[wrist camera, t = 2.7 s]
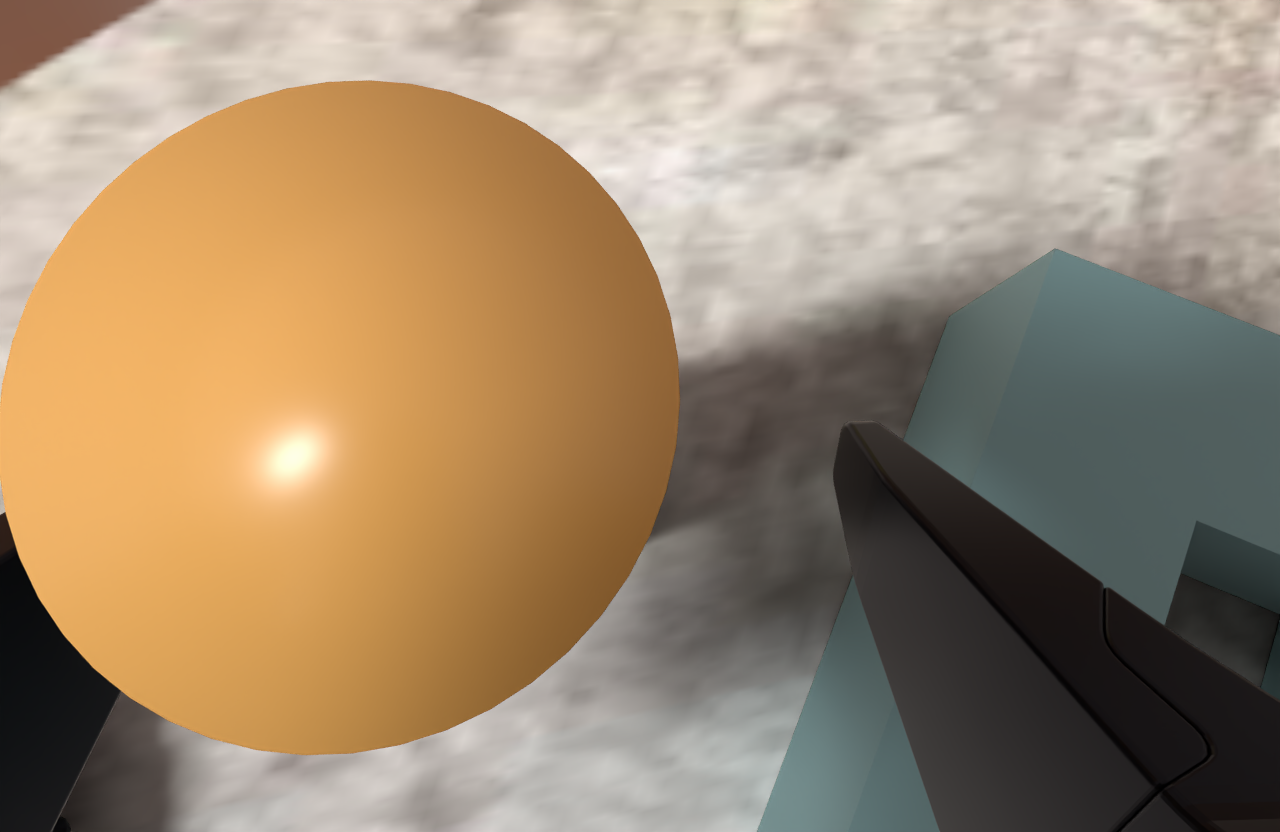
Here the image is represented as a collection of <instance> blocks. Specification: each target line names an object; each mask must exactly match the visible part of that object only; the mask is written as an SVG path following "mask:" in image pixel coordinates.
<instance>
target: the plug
mask: <svg viewBox="0 0 1280 832" xmlns="http://www.w3.org/2000/svg"><path fill="white" fill-rule="evenodd" d="M679 408H680V391H679V369H678V355H677V350H676V344H675V339H674V333H673V328H672V322H671V317H670V313H669V310H668V307H667V304H666V301H665V298H664V295H663V292H662V289H661V286H660V282H659V279H658V276H657V274H656V272H655V270H654V268H653V266H652V264H651V262H650V259H649V257H648V255H647V253H646V251H645V249H644V247H643V245H642V243H641V241H640V239H639V237H638V235H637V234H636V232H635V231H634V229H633V228H632V226H631V225H630V223H629V222H628V220H627V219H626V217H625V216H624V214H623V213H622V211H621V210H620V208H619V207H618V205H617V204H616V202H615V201H614V200H613V199H612V198H611V197H610V196H609V194H608V193H607V192H606V191H605V190H604V189H603V188H602V186H601V185H600V184H599V183H598V182H597V181H596V180H595V178H594V177H593V176H592V175H591V174H590V173H589V172H588V171H587V170H586V169H585V168H584V167H582V166H581V165H580V164H579V163H578V162H577V161H576V160H574V159H573V158H572V157H571V156H570V155H569V154H568V153H566V152H565V151H564V150H563V149H562V148H561V147H560V146H558V145H557V144H555V143H554V142H552V141H551V140H549V139H548V138H546V137H545V136H543V135H542V134H540V133H539V132H537V131H536V130H534V129H533V128H531V127H530V126H528V125H527V124H525V123H523V122H521V121H519V120H517V119H515V118H513V117H511V116H509V115H507V114H505V113H503V112H501V111H499V110H497V109H495V108H493V107H491V106H489V105H486V104H483V103H480V102H477V101H474V100H471V99H469V98H466V97H463V96H460V95H457V94H454V93H451V92H447V91H442V90H437V89H432V88H428V87H423V86H418V85H413V84H406V83H393V82H381V81H343V82H325V83H319V84H313V85H306V86H300V87H294V88H288V89H284V90H280V91H276V92H273V93H269V94H266V95H262V96H259V97H255V98H252V99H248V100H245V101H243V102H240V103H238V104H235V105H233V106H230V107H228V108H226V109H223V110H221V111H218V112H216V113H213V114H211V115H209V116H206V117H204V118H203V119H201V120H199V121H197V122H195V123H194V124H192V125H190V126H188V127H186V128H185V129H183V130H181V131H179V132H177V133H176V134H174V135H172V136H170V137H169V138H167V139H166V140H164V141H163V142H162V143H160V144H159V145H157V146H156V147H155V148H153V149H152V150H150V151H149V152H148V153H146V154H145V155H143V156H142V157H141V158H139V159H138V160H136V161H135V162H134V163H133V164H132V165H130V166H129V167H128V168H127V169H126V170H125V171H124V172H123V173H122V174H120V175H119V176H118V177H117V178H116V179H115V180H114V181H113V182H112V183H111V184H109V185H108V186H107V187H106V188H105V189H104V190H103V191H102V192H101V193H100V194H99V195H98V196H97V198H96V199H95V200H94V201H93V202H92V203H91V204H90V206H89V207H88V208H87V209H86V210H85V211H84V212H83V214H82V215H81V216H80V217H79V218H78V219H77V220H76V222H75V223H74V224H73V225H72V227H71V228H70V230H69V231H68V233H67V234H66V235H65V237H64V238H63V240H62V241H61V243H60V244H59V246H58V247H57V249H56V250H55V252H54V253H53V254H52V256H51V257H50V259H49V260H48V262H47V264H46V266H45V268H44V270H43V272H42V274H41V276H40V278H39V279H38V281H37V283H36V285H35V287H34V289H33V291H32V293H31V295H30V297H29V299H28V301H27V304H26V306H25V309H24V312H23V314H22V317H21V320H20V322H19V325H18V328H17V330H16V333H15V336H14V338H13V341H12V346H11V350H10V354H9V358H8V362H7V367H6V371H5V375H4V379H3V383H2V393H1V402H0V480H1V486H2V492H3V499H4V505H5V511H6V516H7V519H8V522H9V526H10V529H11V532H12V535H13V539H14V542H15V545H16V548H17V551H18V555H19V558H20V560H21V562H22V564H23V566H24V568H25V570H26V572H27V575H28V577H29V579H30V581H31V583H32V585H33V587H34V589H35V591H36V593H37V595H38V598H39V599H40V601H41V602H42V604H43V605H44V607H45V608H46V610H47V611H48V613H49V614H50V616H51V617H52V619H53V620H54V622H55V623H56V625H57V626H58V628H59V629H60V631H61V632H62V634H63V635H64V636H65V637H66V638H67V639H68V641H69V642H70V643H71V644H72V645H73V646H74V647H75V648H76V649H77V650H78V652H79V653H80V654H81V655H82V656H83V657H84V658H85V659H86V660H87V661H88V663H89V664H90V665H91V666H92V667H93V668H94V669H95V670H96V671H98V672H99V673H100V674H101V675H102V676H104V677H105V678H106V679H107V680H109V681H110V682H111V683H112V684H113V685H115V686H116V687H117V688H118V689H120V690H121V691H122V692H123V693H124V694H126V695H127V696H128V697H129V698H131V699H133V700H134V701H136V702H138V703H139V704H141V705H143V706H144V707H146V708H148V709H149V710H151V711H153V712H154V713H156V714H158V715H159V716H161V717H163V718H165V719H166V720H168V721H170V722H172V723H175V724H177V725H180V726H182V727H185V728H187V729H189V730H192V731H194V732H197V733H199V734H201V735H204V736H206V737H209V738H211V739H215V740H219V741H223V742H227V743H231V744H235V745H239V746H243V747H247V748H251V749H255V750H261V751H270V752H280V753H290V754H299V755H319V754H347V753H357V752H363V751H368V750H374V749H380V748H385V747H391V746H397V745H401V744H405V743H408V742H411V741H414V740H417V739H420V738H423V737H426V736H430V735H433V734H436V733H439V732H442V731H445V730H448V729H450V728H452V727H454V726H456V725H458V724H460V723H463V722H465V721H467V720H469V719H471V718H473V717H475V716H477V715H479V714H482V713H484V712H486V711H488V710H490V709H492V708H493V707H495V706H496V705H498V704H500V703H501V702H503V701H504V700H506V699H507V698H509V697H510V696H512V695H513V694H515V693H517V692H518V691H520V690H521V689H523V688H524V687H526V686H527V685H529V684H530V683H532V682H533V681H534V680H536V679H537V678H538V677H539V676H540V675H541V674H543V673H544V672H545V671H546V670H547V669H548V668H550V667H551V666H552V665H553V664H554V663H556V662H557V661H558V660H559V659H560V658H561V657H563V656H564V655H565V654H566V653H567V652H568V651H570V649H571V648H572V647H573V646H574V645H575V644H576V643H577V642H578V641H579V639H580V638H581V637H582V636H583V635H584V634H585V633H586V632H587V631H588V630H589V628H590V627H591V626H592V625H593V624H594V623H595V622H596V621H597V620H598V619H599V617H600V616H601V615H602V614H603V612H604V611H605V610H606V608H607V607H608V605H609V604H610V602H611V601H612V599H613V598H614V597H615V595H616V594H617V592H618V591H619V589H620V588H621V587H622V585H623V584H624V582H625V581H626V579H627V578H628V576H629V575H630V573H631V571H632V569H633V567H634V565H635V563H636V561H637V559H638V557H639V555H640V553H641V552H642V550H643V548H644V546H645V544H646V542H647V540H648V538H649V536H650V534H651V531H652V529H653V526H654V523H655V520H656V518H657V515H658V512H659V509H660V507H661V504H662V501H663V498H664V496H665V493H666V490H667V485H668V481H669V476H670V472H671V467H672V463H673V458H674V454H675V449H676V442H677V431H678V419H679Z"/></svg>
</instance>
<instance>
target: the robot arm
mask: <svg viewBox="0 0 1280 832" xmlns="http://www.w3.org/2000/svg"><path fill="white" fill-rule="evenodd" d="M833 480H834V487H835V492H836V496H837V501H838V506H839V511H840V516H841V520H842V525H843V530H844V535H845V539H846V544H847V549H848V554H849V558H850V563H851V568H852V572H853V576H854V581H855V584H856V587H857V591H858V594H859V597H860V600H861V603H862V606H863V609H864V612H865V615H866V618H867V621H868V624H869V627H870V630H871V632H872V635H873V638H874V641H875V644H876V647H877V650H878V653H879V656H880V659H881V662H882V665H883V668H884V671H885V673H886V676H887V679H888V682H889V685H890V688H891V691H892V694H893V697H894V700H895V703H896V706H897V709H898V712H899V714H900V717H901V720H902V723H903V726H904V729H905V732H906V735H907V738H908V741H909V744H910V747H911V750H912V753H913V756H914V758H915V761H916V764H917V767H918V770H919V773H920V776H921V779H922V782H923V785H924V788H925V791H926V794H927V797H928V799H929V802H930V805H931V808H932V811H933V814H934V817H935V820H936V823H937V826H938V829H939V832H1280V700H1279V699H1277V698H1276V697H1274V696H1272V695H1271V694H1269V693H1268V692H1266V691H1264V690H1263V689H1261V688H1260V687H1258V686H1256V685H1255V684H1253V683H1251V682H1250V681H1248V680H1247V679H1245V678H1244V677H1242V676H1241V675H1239V674H1237V673H1236V672H1234V671H1233V670H1231V669H1230V668H1228V667H1227V666H1225V665H1223V664H1222V663H1220V662H1219V661H1217V660H1216V659H1214V658H1213V657H1211V656H1209V655H1208V654H1206V653H1205V652H1203V651H1202V650H1200V649H1198V648H1197V647H1195V646H1194V645H1192V644H1191V643H1189V642H1188V641H1186V640H1185V639H1183V638H1182V637H1181V636H1179V635H1178V634H1176V633H1175V632H1173V631H1172V630H1170V629H1169V628H1167V627H1166V626H1165V625H1163V624H1162V623H1160V622H1159V621H1157V620H1156V619H1154V618H1153V617H1151V616H1150V615H1149V614H1147V613H1146V612H1144V611H1143V610H1141V609H1140V608H1138V607H1137V606H1136V605H1134V604H1133V603H1131V602H1130V601H1129V600H1127V599H1126V598H1124V597H1123V596H1122V595H1120V594H1119V593H1117V592H1116V591H1115V590H1113V589H1112V588H1110V587H1106V588H1104V585H1103V583H1102V582H1101V581H1100V580H1099V579H1097V578H1096V577H1095V576H1093V575H1092V574H1090V573H1089V572H1088V571H1086V570H1085V569H1083V568H1082V567H1080V566H1079V565H1078V564H1076V563H1075V562H1073V561H1072V560H1071V559H1069V558H1068V557H1066V556H1065V555H1064V554H1062V553H1061V552H1059V551H1058V550H1057V549H1055V548H1054V547H1052V546H1051V545H1050V544H1048V543H1047V542H1045V541H1044V540H1043V539H1041V538H1040V537H1038V536H1037V535H1036V534H1034V533H1033V532H1031V531H1030V530H1029V529H1027V528H1026V527H1024V526H1023V525H1022V524H1020V523H1019V522H1017V521H1016V520H1015V519H1013V518H1012V517H1010V516H1009V515H1008V514H1006V513H1005V512H1003V511H1002V510H1001V509H999V508H998V507H996V506H995V505H993V504H992V503H991V502H989V501H988V500H986V499H985V498H984V497H982V496H981V495H979V494H978V493H977V492H975V491H974V490H972V489H971V488H970V487H968V486H967V485H965V484H964V483H963V482H961V481H960V480H958V479H957V478H956V477H954V476H953V475H951V474H950V473H949V472H947V471H946V470H944V469H943V468H942V467H940V466H939V465H937V464H936V463H935V462H933V461H932V460H930V459H929V458H928V457H926V456H925V455H923V454H922V453H921V452H919V451H918V450H916V449H915V448H914V447H912V446H911V445H909V444H908V443H907V442H905V441H904V440H902V439H901V438H899V437H898V436H897V435H895V434H894V433H892V432H891V431H890V430H888V429H887V428H885V427H884V426H883V425H881V424H880V423H878V422H876V421H849V422H847V423H845V424H844V425H843V427H842V429H841V433H840V438H839V443H838V448H837V453H836V458H835V463H834V469H833ZM120 694H121V690H120V689H118V688H117V687H116V686H115V685H113V684H112V683H111V682H110V681H109V680H107V679H106V678H105V677H104V676H102V675H101V674H100V673H99V672H98V671H96V670H95V669H94V668H93V667H92V666H91V665H90V664H89V663H88V661H87V660H86V659H85V658H84V657H83V656H82V655H81V654H80V653H79V652H78V650H77V649H76V648H75V647H74V646H73V645H72V644H71V643H70V642H69V641H68V639H67V638H66V637H65V636H64V635H63V634H62V632H61V631H60V629H59V628H58V626H57V625H56V623H55V622H54V620H53V619H52V617H51V616H50V614H49V613H48V611H47V610H46V608H45V607H44V605H43V604H42V602H41V601H40V599H39V598H38V595H37V593H36V591H35V589H34V587H33V585H32V583H31V581H30V579H29V577H28V575H27V572H26V570H25V568H24V566H23V564H22V562H21V560H20V558H19V555H18V551H17V548H16V545H15V542H14V539H13V535H12V532H11V529H10V526H9V522H8V519H7V516H6V512H5V513H3V514H1V515H0V832H52V830H53V828H54V826H55V824H56V822H57V820H58V818H59V816H60V814H61V812H62V810H63V808H64V806H65V804H66V802H67V800H68V798H69V796H70V794H71V792H72V790H73V788H74V786H75V784H76V782H77V780H78V778H79V776H80V774H81V772H82V770H83V768H84V766H85V764H86V762H87V760H88V758H89V756H90V754H91V752H92V750H93V748H94V746H95V744H96V742H97V740H98V738H99V736H100V734H101V732H102V730H103V728H104V726H105V724H106V722H107V720H108V718H109V716H110V714H111V712H112V710H113V708H114V706H115V704H116V702H117V700H118V698H119V696H120Z"/></svg>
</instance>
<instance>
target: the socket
mask: <svg viewBox="0 0 1280 832" xmlns="http://www.w3.org/2000/svg"><path fill="white" fill-rule="evenodd" d="M903 440H904V441H905V442H907V443H908V444H909V445H911V446H912V447H914V448H915V449H916V450H918V451H919V452H921V453H922V454H923V455H925V456H926V457H928V458H929V459H930V460H932V461H933V462H935V463H936V464H937V465H939V466H940V467H942V468H943V469H944V470H946V471H947V472H949V473H950V474H951V475H953V476H954V477H956V478H957V479H958V480H960V481H961V482H963V483H964V484H965V485H967V486H968V487H970V488H971V489H972V490H974V491H975V492H977V493H978V494H979V495H981V496H982V497H984V498H985V499H986V500H988V501H989V502H991V503H992V504H993V505H995V506H996V507H998V508H999V509H1001V510H1002V511H1003V512H1005V513H1006V514H1008V515H1009V516H1010V517H1012V518H1013V519H1015V520H1016V521H1017V522H1019V523H1020V524H1022V525H1023V526H1024V527H1026V528H1027V529H1029V530H1030V531H1031V532H1033V533H1034V534H1036V535H1037V536H1038V537H1040V538H1041V539H1043V540H1044V541H1045V542H1047V543H1048V544H1050V545H1051V546H1052V547H1054V548H1055V549H1057V550H1058V551H1059V552H1061V553H1062V554H1064V555H1065V556H1066V557H1068V558H1069V559H1071V560H1072V561H1073V562H1075V563H1076V564H1078V565H1079V566H1080V567H1082V568H1083V569H1085V570H1086V571H1088V572H1089V573H1090V574H1092V575H1093V576H1095V577H1096V578H1097V579H1099V580H1100V581H1101V582H1102V583H1103V585H1104V588H1106V587H1110V588H1112V589H1113V590H1115V591H1116V592H1117V593H1119V594H1120V595H1122V596H1123V597H1124V598H1126V599H1127V600H1129V601H1130V602H1131V603H1133V604H1134V605H1136V606H1137V607H1138V608H1140V609H1141V610H1143V611H1144V612H1146V613H1147V614H1149V615H1150V616H1151V617H1153V618H1154V619H1156V620H1157V621H1159V622H1160V623H1162V624H1163V625H1165V622H1166V619H1167V616H1168V612H1169V609H1170V606H1171V603H1172V599H1173V596H1174V593H1175V589H1176V586H1177V583H1178V580H1179V576H1180V573H1181V574H1184V575H1186V576H1189V577H1191V578H1193V579H1196V580H1198V581H1201V582H1203V583H1206V584H1208V585H1210V586H1213V587H1215V588H1218V589H1220V590H1222V591H1225V592H1227V593H1230V594H1232V595H1234V596H1237V597H1239V598H1242V599H1244V600H1246V601H1249V602H1251V603H1254V604H1256V605H1259V606H1261V607H1263V608H1266V609H1268V610H1271V611H1273V612H1275V613H1278V614H1280V335H1277V334H1275V333H1272V332H1270V331H1267V330H1264V329H1262V328H1259V327H1257V326H1254V325H1251V324H1249V323H1246V322H1244V321H1241V320H1239V319H1236V318H1233V317H1231V316H1228V315H1226V314H1223V313H1221V312H1218V311H1215V310H1213V309H1210V308H1208V307H1205V306H1202V305H1200V304H1197V303H1195V302H1192V301H1190V300H1187V299H1184V298H1182V297H1179V296H1177V295H1174V294H1171V293H1169V292H1166V291H1164V290H1161V289H1159V288H1156V287H1153V286H1151V285H1148V284H1146V283H1143V282H1140V281H1138V280H1135V279H1133V278H1130V277H1128V276H1125V275H1122V274H1120V273H1117V272H1115V271H1112V270H1110V269H1107V268H1104V267H1102V266H1099V265H1097V264H1094V263H1091V262H1089V261H1086V260H1084V259H1081V258H1079V257H1076V256H1073V255H1071V254H1068V253H1066V252H1063V251H1060V250H1058V249H1054V250H1052V251H1051V252H1049V253H1047V254H1046V255H1044V256H1043V257H1041V258H1040V259H1038V260H1037V261H1035V262H1033V263H1032V264H1030V265H1029V266H1027V267H1026V268H1024V269H1022V270H1021V271H1019V272H1018V273H1016V274H1015V275H1013V276H1012V277H1010V278H1008V279H1007V280H1005V281H1004V282H1002V283H1001V284H999V285H997V286H996V287H994V288H993V289H991V290H990V291H988V292H987V293H985V294H983V295H982V296H980V297H979V298H977V299H976V300H974V301H972V302H971V303H969V304H968V305H966V306H965V307H963V308H961V309H960V310H958V311H957V312H955V313H954V314H952V315H951V316H949V319H948V321H947V324H946V327H945V329H944V332H943V335H942V337H941V340H940V343H939V345H938V348H937V351H936V353H935V356H934V359H933V361H932V364H931V367H930V370H929V372H928V375H927V378H926V380H925V383H924V386H923V388H922V391H921V394H920V396H919V399H918V402H917V404H916V407H915V410H914V412H913V415H912V418H911V420H910V423H909V426H908V428H907V431H906V434H905V437H904V439H903ZM1261 689H1263V690H1264V691H1266V692H1268V693H1269V694H1271V695H1272V696H1274V697H1276V698H1277V699H1279V700H1280V622H1279V625H1278V629H1277V632H1276V636H1275V639H1274V643H1273V647H1272V650H1271V654H1270V657H1269V661H1268V664H1267V668H1266V671H1265V675H1264V679H1263V682H1262V686H1261ZM757 832H939V829H938V826H937V823H936V820H935V817H934V814H933V811H932V808H931V805H930V802H929V799H928V797H927V794H926V791H925V788H924V785H923V782H922V779H921V776H920V773H919V770H918V767H917V764H916V761H915V758H914V756H913V753H912V750H911V747H910V744H909V741H908V738H907V735H906V732H905V729H904V726H903V723H902V720H901V717H900V714H899V712H898V709H897V706H896V703H895V700H894V697H893V694H892V691H891V688H890V685H889V682H888V679H887V676H886V673H885V671H884V668H883V665H882V662H881V659H880V656H879V653H878V650H877V647H876V644H875V641H874V638H873V635H872V632H871V630H870V627H869V624H868V621H867V618H866V615H865V612H864V609H863V606H862V603H861V600H860V597H859V594H858V591H857V587H856V584H855V581H854V576H852V579H851V581H850V584H849V587H848V589H847V592H846V595H845V597H844V600H843V603H842V605H841V608H840V611H839V614H838V616H837V619H836V622H835V624H834V627H833V630H832V632H831V635H830V638H829V640H828V643H827V646H826V648H825V651H824V654H823V656H822V659H821V662H820V664H819V667H818V670H817V673H816V675H815V678H814V681H813V683H812V686H811V689H810V691H809V694H808V697H807V699H806V702H805V705H804V707H803V710H802V713H801V715H800V718H799V721H798V723H797V726H796V729H795V731H794V734H793V737H792V740H791V742H790V745H789V748H788V750H787V753H786V756H785V758H784V761H783V764H782V766H781V769H780V772H779V774H778V777H777V780H776V782H775V785H774V788H773V790H772V793H771V796H770V799H769V801H768V804H767V807H766V809H765V812H764V815H763V817H762V820H761V823H760V825H759V828H758V831H757Z"/></svg>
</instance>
